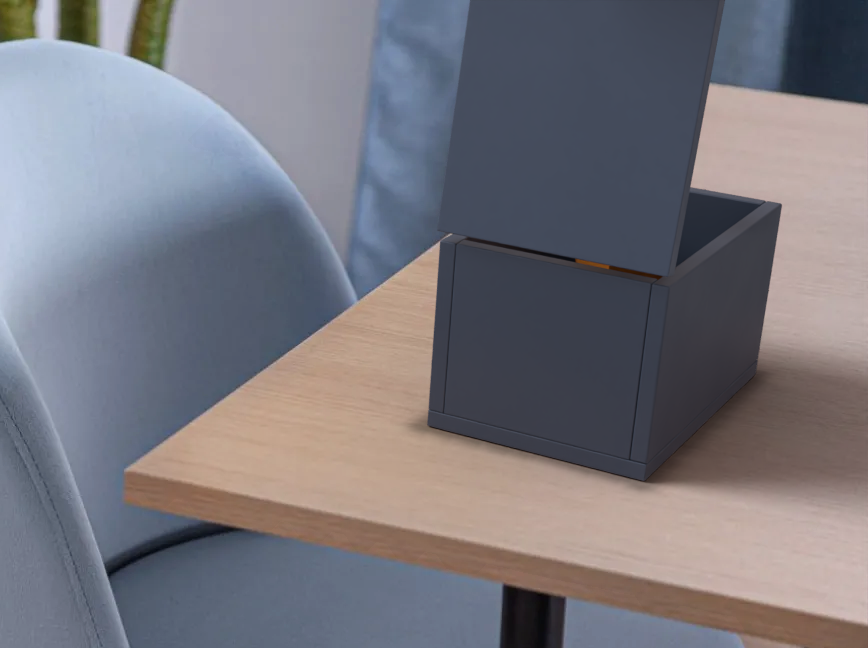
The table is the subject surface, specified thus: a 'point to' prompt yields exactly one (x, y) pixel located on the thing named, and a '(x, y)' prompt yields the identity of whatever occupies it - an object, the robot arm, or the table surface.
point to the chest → (601, 340)
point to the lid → (580, 126)
